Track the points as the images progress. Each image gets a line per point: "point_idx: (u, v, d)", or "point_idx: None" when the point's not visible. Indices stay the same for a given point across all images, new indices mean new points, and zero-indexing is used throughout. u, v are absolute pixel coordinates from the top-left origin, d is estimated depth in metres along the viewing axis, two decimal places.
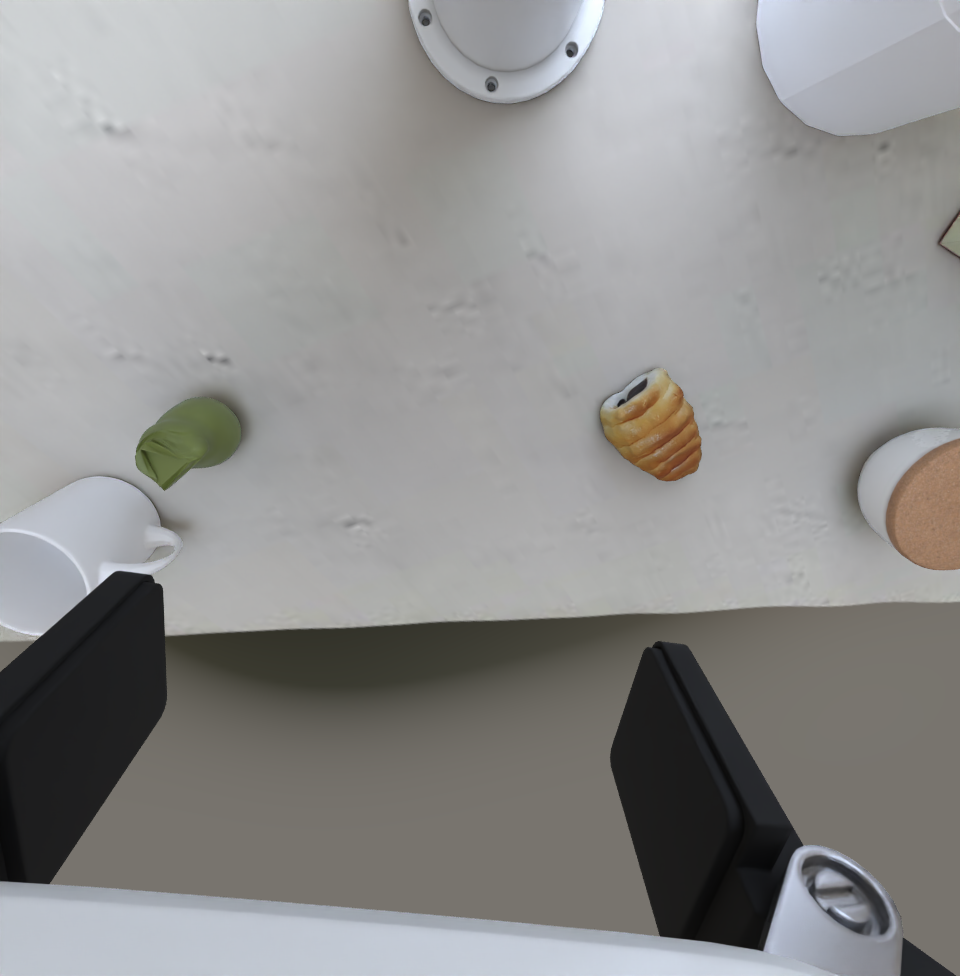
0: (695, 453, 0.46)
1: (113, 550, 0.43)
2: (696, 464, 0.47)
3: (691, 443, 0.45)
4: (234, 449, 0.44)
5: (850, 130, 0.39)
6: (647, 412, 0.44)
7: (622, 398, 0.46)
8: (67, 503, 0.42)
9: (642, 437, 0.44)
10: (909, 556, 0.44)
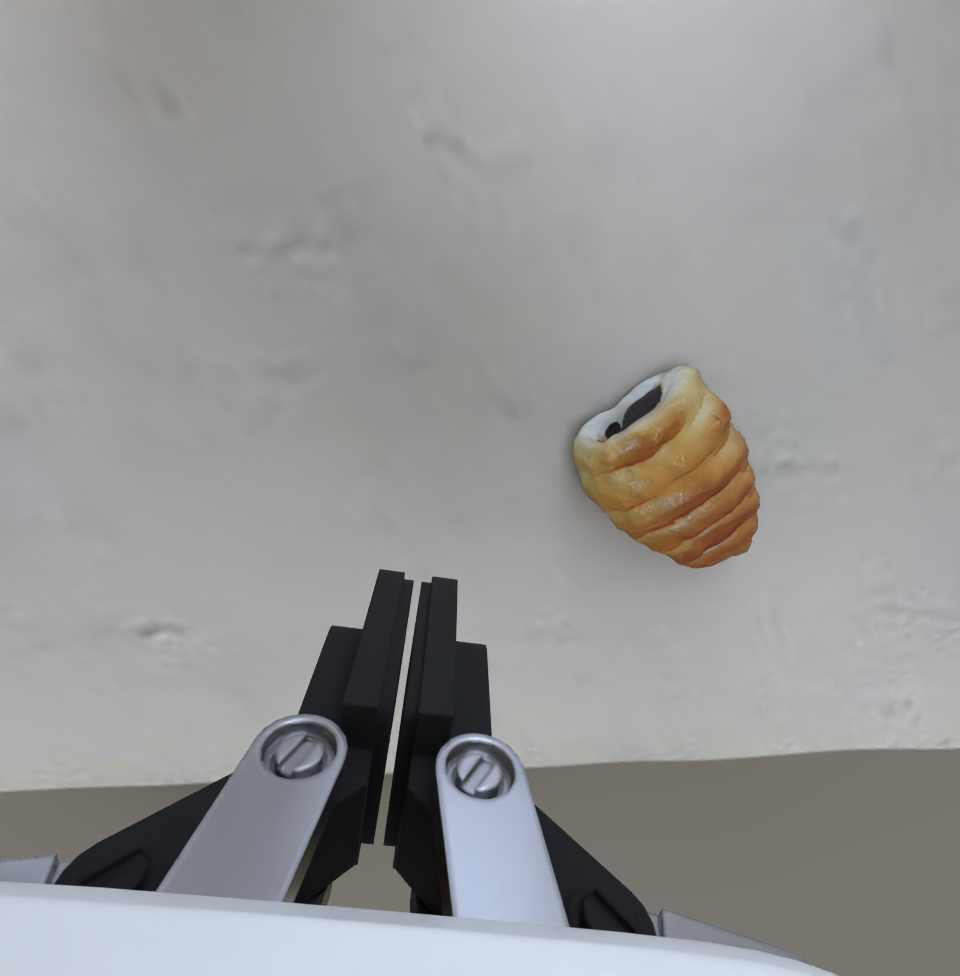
0: (749, 522, 0.25)
1: None
2: (749, 541, 0.26)
3: (743, 506, 0.24)
4: None
5: None
6: (662, 451, 0.23)
7: (614, 421, 0.25)
8: None
9: (652, 497, 0.23)
10: None
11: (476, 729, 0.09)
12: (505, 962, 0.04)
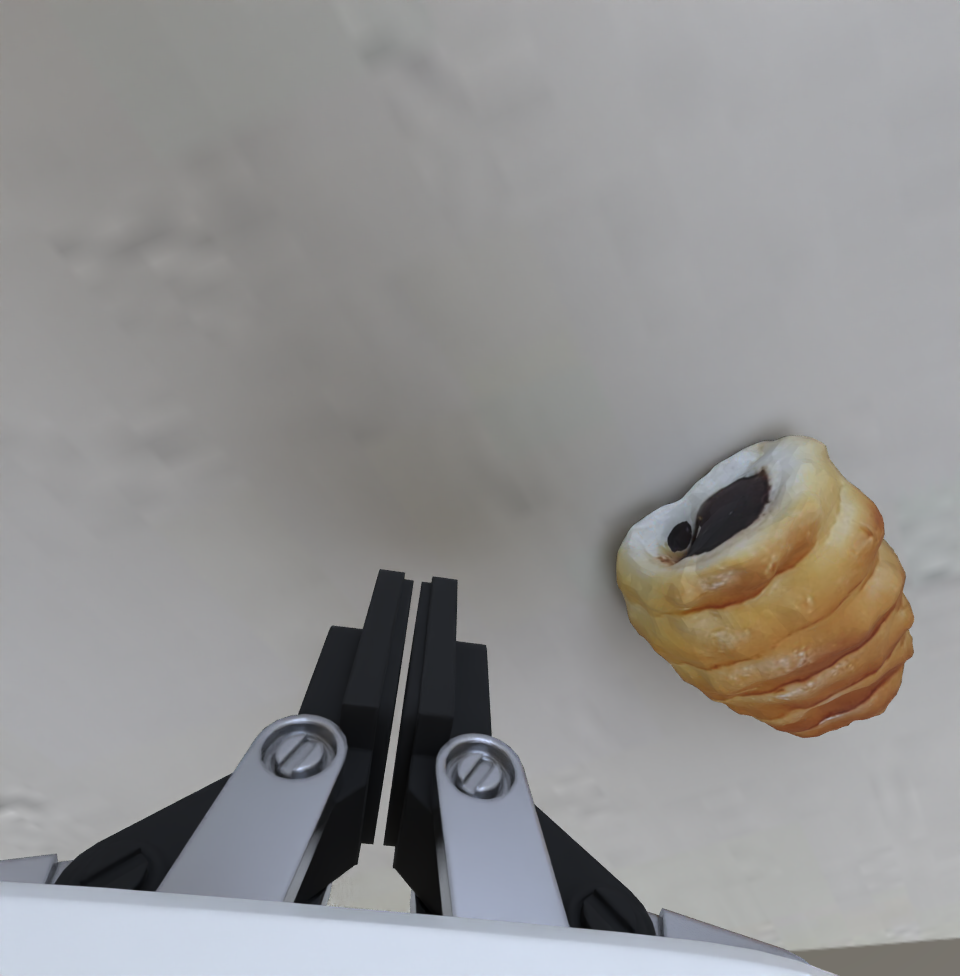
0: (895, 679, 0.16)
1: None
2: None
3: (893, 660, 0.15)
4: None
5: None
6: (774, 586, 0.13)
7: (682, 521, 0.16)
8: None
9: (753, 657, 0.14)
10: None
11: (476, 729, 0.09)
12: (505, 962, 0.04)
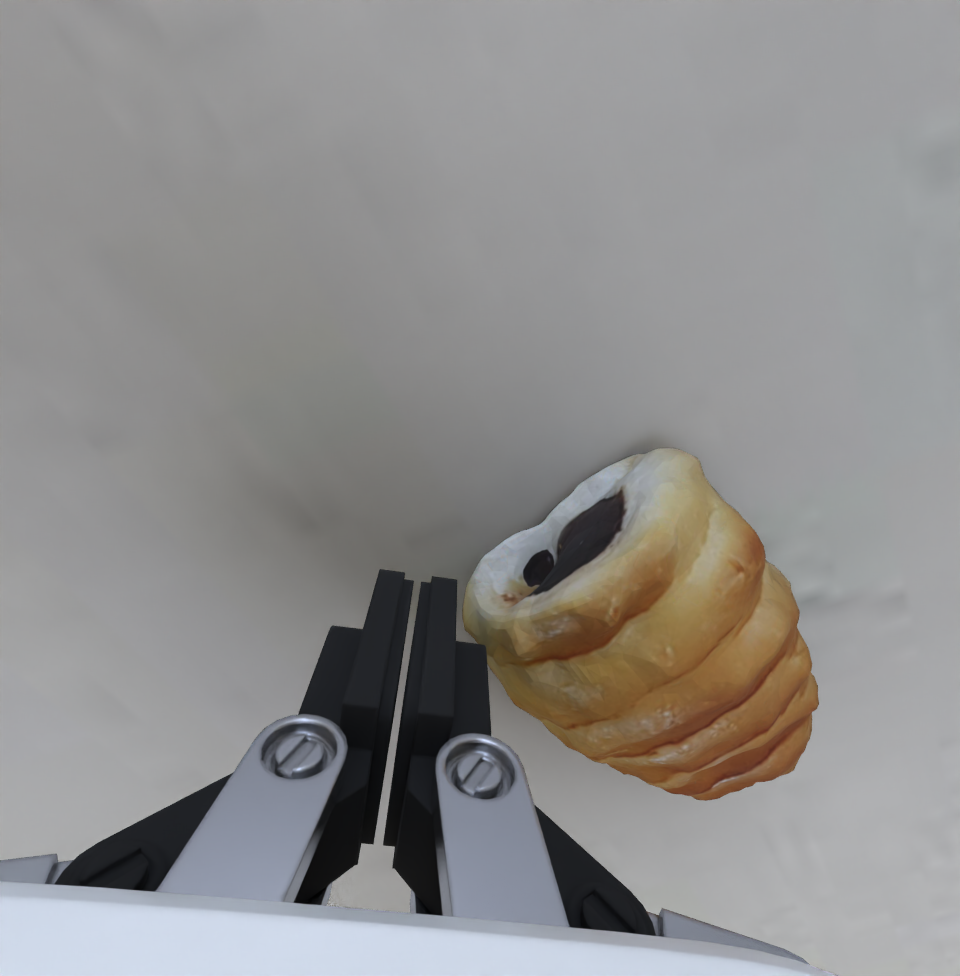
0: (799, 735, 0.13)
1: None
2: (797, 757, 0.14)
3: (789, 716, 0.13)
4: None
5: None
6: (627, 633, 0.11)
7: (541, 549, 0.13)
8: None
9: (611, 717, 0.12)
10: None
11: (476, 729, 0.09)
12: (505, 962, 0.04)
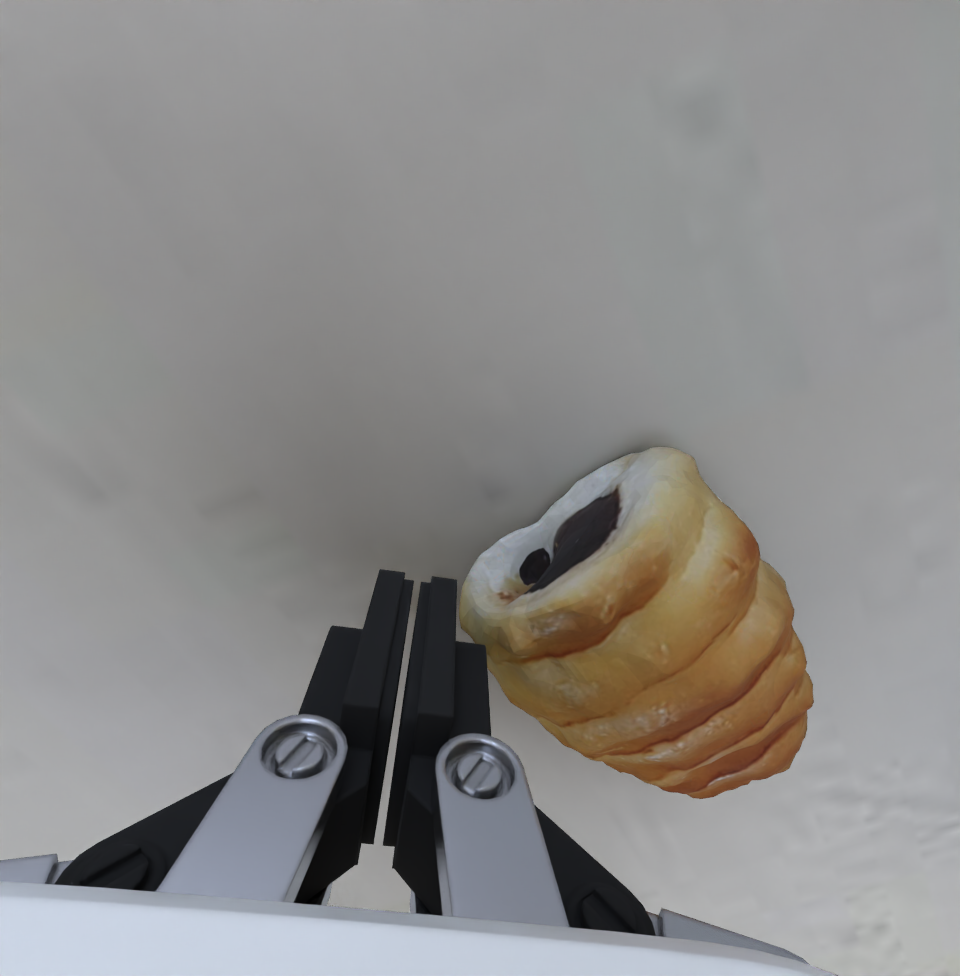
0: (794, 733, 0.13)
1: None
2: (793, 756, 0.14)
3: (784, 713, 0.13)
4: None
5: None
6: (622, 630, 0.11)
7: (538, 548, 0.13)
8: None
9: (606, 714, 0.12)
10: None
11: (475, 729, 0.09)
12: (505, 962, 0.04)
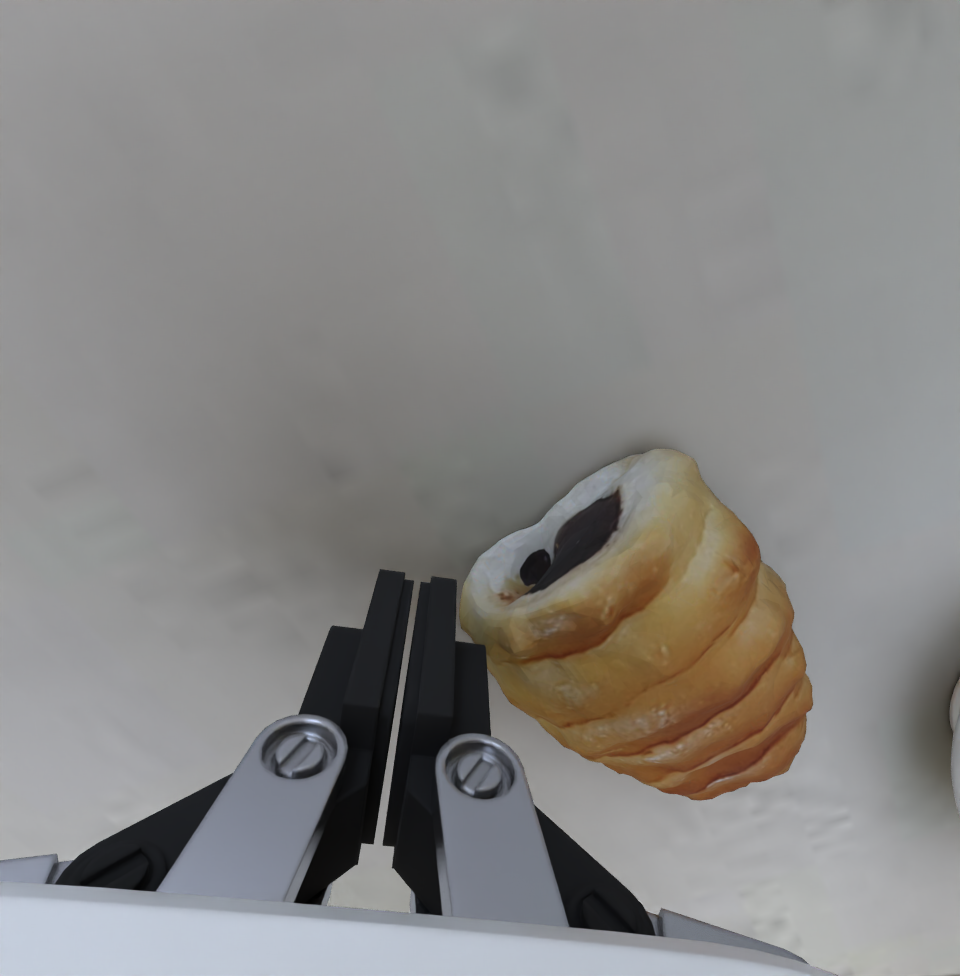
0: (793, 735, 0.13)
1: None
2: (791, 758, 0.14)
3: (783, 716, 0.13)
4: None
5: None
6: (622, 631, 0.11)
7: (538, 549, 0.13)
8: None
9: (606, 716, 0.12)
10: None
11: (475, 729, 0.09)
12: (505, 962, 0.04)
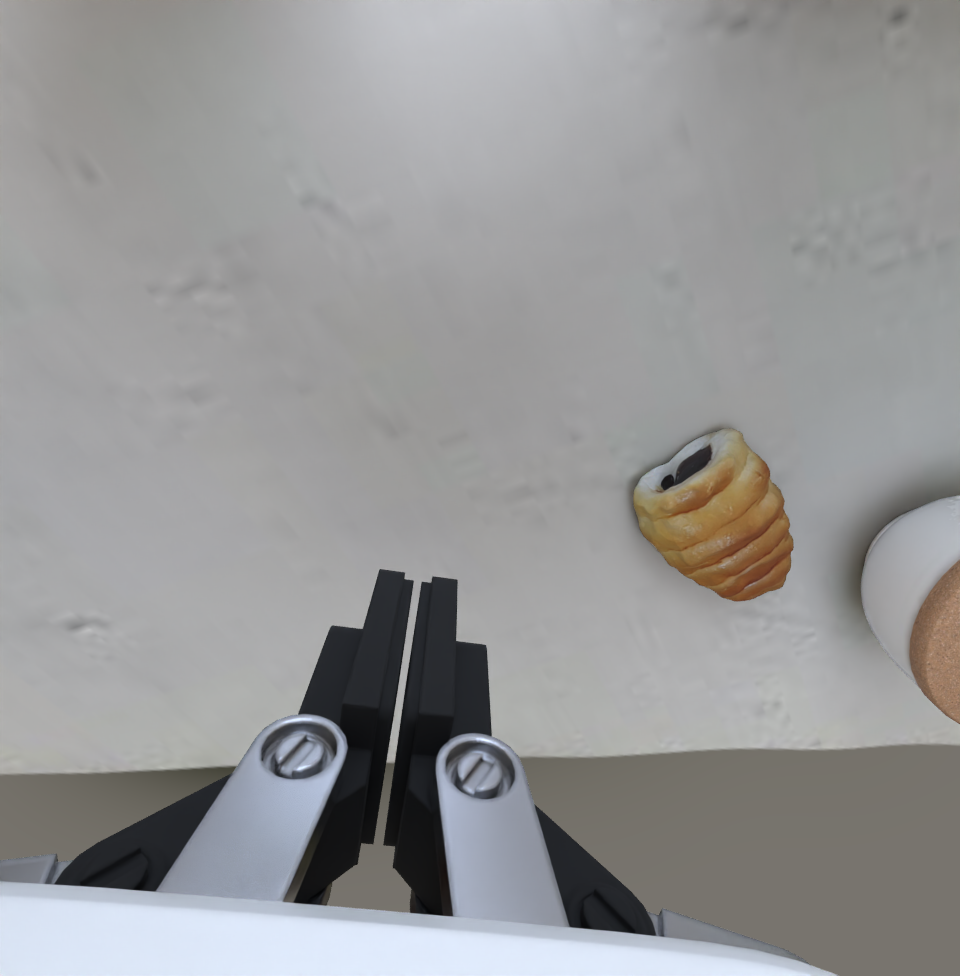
0: (784, 562, 0.29)
1: None
2: (784, 578, 0.30)
3: (780, 548, 0.28)
4: None
5: None
6: (713, 501, 0.27)
7: (669, 474, 0.29)
8: None
9: (704, 540, 0.27)
10: (950, 713, 0.26)
11: (476, 729, 0.09)
12: (505, 962, 0.04)
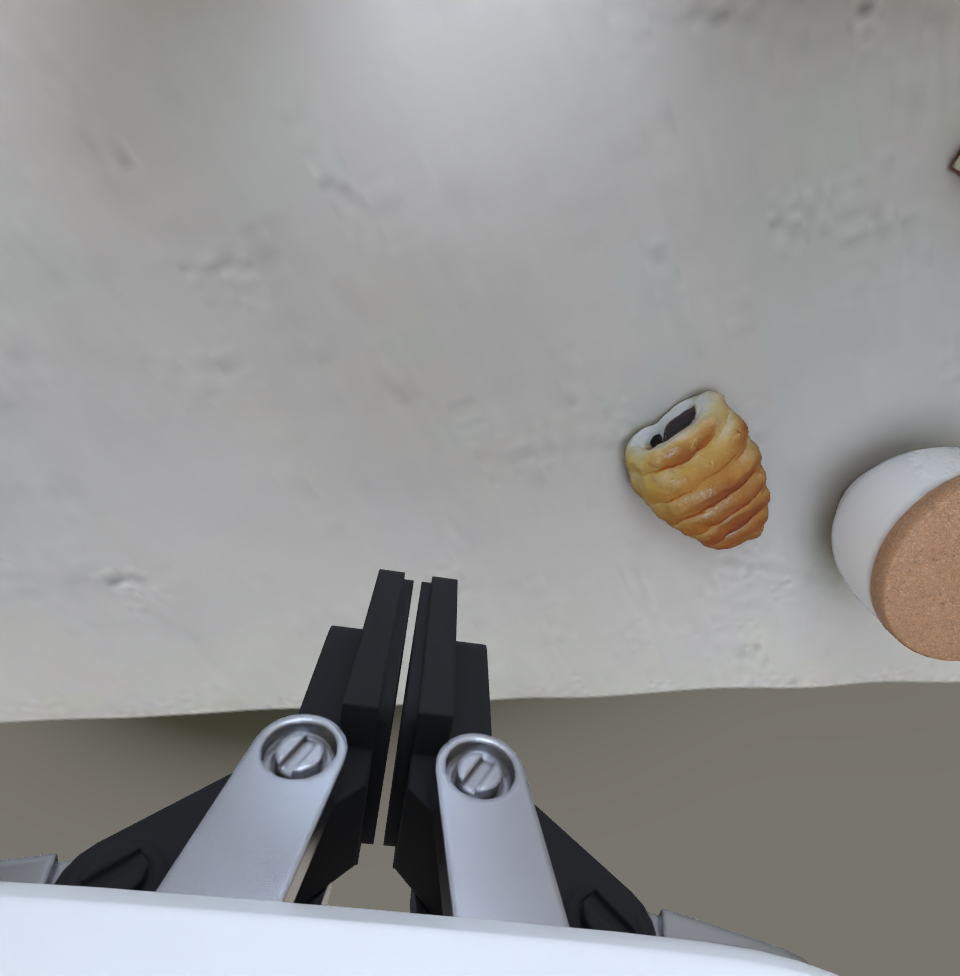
0: (761, 513, 0.32)
1: None
2: (762, 527, 0.33)
3: (757, 499, 0.31)
4: None
5: None
6: (696, 456, 0.30)
7: (657, 433, 0.32)
8: None
9: (688, 492, 0.30)
10: (906, 642, 0.29)
11: (476, 729, 0.09)
12: (505, 962, 0.04)
